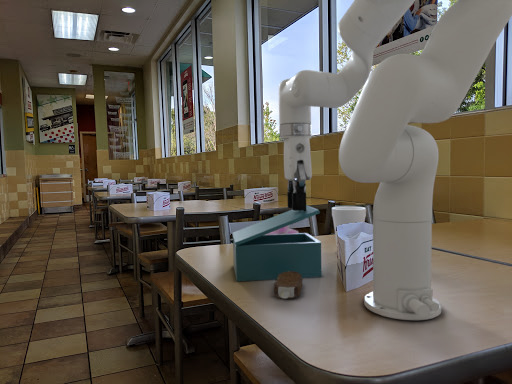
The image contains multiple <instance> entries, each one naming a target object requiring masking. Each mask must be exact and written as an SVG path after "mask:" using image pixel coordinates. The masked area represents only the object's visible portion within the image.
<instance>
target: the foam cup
mask: <svg viewBox="0 0 512 384" xmlns="http://www.w3.org/2000/svg"><path fill="white" fill-rule="evenodd" d="M331 217H332V221H333V229H334V235H335V243H336V245H337V231H336V227H337V226H338V225H341V224H347V223H355V222H364V223H365V221H366V218H367V208H366V207H363V206H355V205H354V206H347V205H346V206H333V207H331Z"/></svg>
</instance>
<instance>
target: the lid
mask: <svg viewBox="0 0 512 384" xmlns="http://www.w3.org/2000/svg"><path fill="white" fill-rule="evenodd" d="M293 193H294V192H293ZM320 213H321V211H320V209H318V208H315V207H313V206H310V205H307V204H306V210H299V211H294V210H293V209H292V208H291V209H289V210H288V211H285V212H282V213H280V214H277V215H275V216H272V217H270V218H267V219H264V220H262V221H259V222H257V223H253V224H252V225H251V224H250V225H249V226H246V227H244V228H241V229H238V230H236V231H234V232H232V238H233V237H234V240H235V243H236V246H237V245H240V244H242V243H245V242H248V241H250V240H253V239H255V238H258V237H260V236H263V235H265V234H268V233H270V232H273V231H276V230H278V229H281V228H283V227H286V226H288V225H289V226H291V225H293V224H296V223H298V222H301V221H303V220H306V219H308V218H312V217H314V216H316V215H319V214H320Z"/></svg>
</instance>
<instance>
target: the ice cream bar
mask: <svg viewBox="0 0 512 384" xmlns="http://www.w3.org/2000/svg"><path fill="white" fill-rule="evenodd" d="M273 286H274V287H273V288H274V289H273V290H274V296H276V298H279V299H285V300H294V299H297V298H299V297H300V296H301V293H302V287H303V278H302V276H301V275H300V274H299V273H298V272H295V271H294V272H293V271H289V272H283V273H280V274H279V275H278V277H277V279H275V282H274V284H273Z"/></svg>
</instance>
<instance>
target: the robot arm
mask: <svg viewBox="0 0 512 384" xmlns="http://www.w3.org/2000/svg"><path fill="white" fill-rule="evenodd" d="M415 2H417V0H353V2H352V3H351V4H350V6H349V7H348V9H347V10H346V11H345V13H344V14H343V15H342V17H341V19H340V20H339V21H338V25H337V33H338V35H339V37H340V39H341V41H342V42H343V44H344V45H345V46H346V47H347V48H348V49H349V50H350V51H351V54H350V56H349V59H348V60H347V62H346V63H345V64H344V65H343V67H342V68H341V69H340V71H338V72H337V73H335V72H327V71H320V70H319V71H318V70H313V69H303V70H300V71H298V72H297V73H296V74H294V75H293V76H292V77H290V78H286V79H283V80H281V81H280V83H279V85H278V125H279V127H278V130H279V131H278V133H279V141H283V175H284V179H285V180H287V191H286V195H287V197H286V198H287V199H286V200H287V208H288V209H291V210H292V209H293V210H294V211H299V210H306V205H307V187H306V186H307V184H306V181H311V179H312V178H313V172H312V171H313V170H312V155H311V144H310V139H312V107H314V108H317V107H318V108H329V109H338V108H341V107H343V106H345V105H347V104H348V103H349V102H350V101H351V100H352V99H353V98H354V97H355V96H356V95H358V93H359V92H360V91H361V92H360V94H359V96H358V99H357V101H356V104H355V106H354V109H353V110H352V114H351V116H350V118H349V120H348V123H347V125H346V128H345V130H344V132H343V135H342V138H341V141H340V144H339V150H338V162H339V166H340V169H341V172H342V173H343V174H344V175H345V176H346V177H347V178H348V179H350V180H351V181H354V182H357V183H363V184H376V183H379V184H378V187H377V190H376V193H375V195H374V200H373V205H372V206H373V207H372V291H370V292H368V293H367V294H365V296H364V298H363V304H364V306H365V307H366V308H367V310H369V311H370V312H372V313H374V314H376V315H380V316H382V317H384V318H385V317H386V318H389V319H395V320H401V321H427V320H431V319H435V318H438V317H439V316H440V315H441V313H442V308H443V307H442V303H441V302H440V301H439V300H438V299H436V298H435V297H433V288H432V261H433V260H432V257H433V256H432V255H433V254H432V253H433V252H432V251H433V249H432V248H433V245H432V243H433V241H432V240H433V239H432V238H433V201H434V200H433V199H434V198H433V197H434V189H435V188H434V187H435V180H436V175H437V170H438V167H439V166H438V165H439V160H440V159H439V156H440V155H439V146H438V144H437V141H436V140H435V138H434V137H433V136H432V134H431V133H430V132H428V131H427V130H426V129H423V128H421V127H418V126H415V125H410V124H409V123H415V124H437V123H442V122H445V121H447V120H449V119H450V118H452V116H453V115H455V113H456V112H457V111H458V109H459V108H460V106H461V105H462V102H463V101H464V99H465V97H466V96H467V95H468V92H469V91H470V89H471V87H472V85H473V83H474V82H475V80H476V78H477V76H478V74H479V73H480V71H481V70H482V68H483V66H484V64H485V62H486V60H487V58H488V56H489V54H490V53H491V51H492V48H493V47H494V45H495V43H496V42H497V40H498V39H499V36H500V35H501V33H502V32H503V30H504V29H505V27H506V26H507V24H508V22H509V21H510V19H511V18H512V0H457V1H455V2H454V3H453V4H452V5H451V6H450V7H449V8H448V9H447V10H446V11H445V12H444V13H443V14H442V15H441V16H440V18H439V19H438V21H437V22H436V23H435V25H434V26H433V29H432V30H431V33H430V35H429V38H428V40H427V42H426V44H425V45H424V48H423V49H422V51H421V52H420V54H419V55H418V54H413V53H397V54H393V55H390V56H388V57H386V58H384V59H383V60H382V61H381V62H379V63H378V64H377V65H376V66H375V67H374V68H373V69H372V67H373V64H374V63H373V62H374V51H375V50H376V48H377V47H378V45H380V44H381V42H382V41H383V40H384V39H385V38H386V36H387V35H388V34H389V33H390V31H391V30H392V29H393V28H394V27H395V26H396V24H397V23H398V22H399V21H400V19H401V18H402V17H403V16H404V15H405V14H406V13H407V11H408V10H410V8H411V6H413V5H414V3H415ZM293 192H294V193H293Z"/></svg>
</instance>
